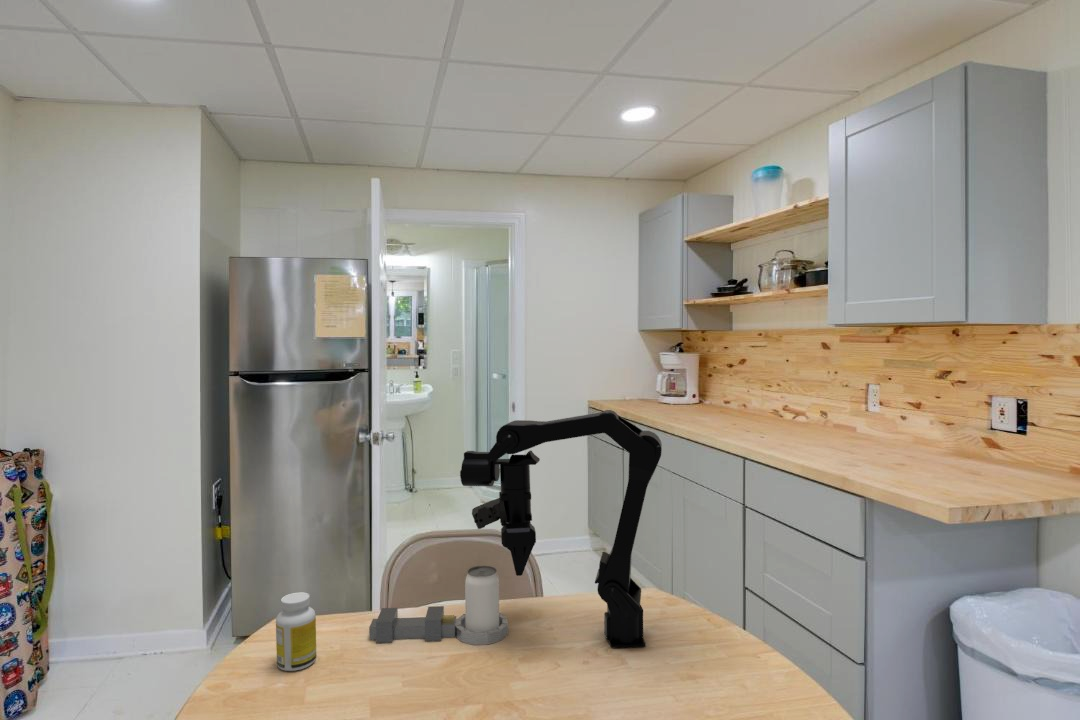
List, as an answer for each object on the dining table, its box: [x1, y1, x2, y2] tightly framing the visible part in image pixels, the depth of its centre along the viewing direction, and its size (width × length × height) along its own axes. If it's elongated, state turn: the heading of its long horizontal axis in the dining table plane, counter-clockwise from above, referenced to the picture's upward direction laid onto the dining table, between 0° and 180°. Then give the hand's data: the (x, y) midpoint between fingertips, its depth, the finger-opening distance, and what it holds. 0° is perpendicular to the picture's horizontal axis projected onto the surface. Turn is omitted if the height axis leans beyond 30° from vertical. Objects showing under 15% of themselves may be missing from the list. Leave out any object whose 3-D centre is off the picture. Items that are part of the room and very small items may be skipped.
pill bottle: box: [275, 591, 317, 672], centre depth 107 cm, size 6×6×12 cm
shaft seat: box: [368, 605, 509, 646], centre depth 117 cm, size 26×10×4 cm, turn 94°
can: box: [464, 565, 500, 632], centre depth 118 cm, size 6×6×12 cm
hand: (518, 566), depth 118 cm, fingers open, 9 cm apart
